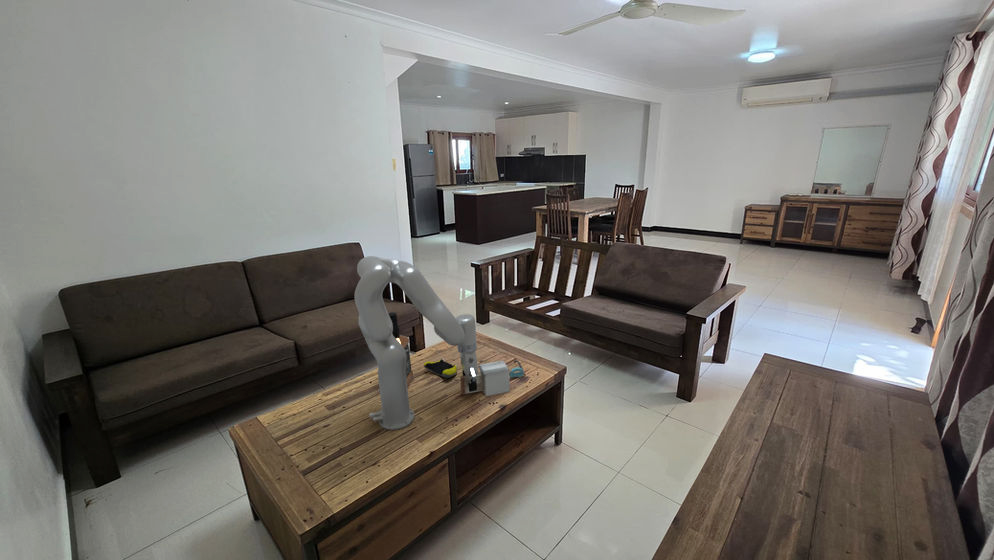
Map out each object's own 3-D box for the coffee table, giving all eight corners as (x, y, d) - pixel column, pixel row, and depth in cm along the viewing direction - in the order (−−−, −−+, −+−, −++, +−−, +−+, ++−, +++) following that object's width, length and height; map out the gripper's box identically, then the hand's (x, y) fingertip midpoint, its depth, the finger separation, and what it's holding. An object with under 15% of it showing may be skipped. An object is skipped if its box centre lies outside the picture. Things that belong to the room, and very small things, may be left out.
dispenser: (485, 396, 159) (484, 374, 156) (479, 386, 167) (478, 364, 164) (509, 391, 162) (509, 369, 159) (503, 381, 170) (502, 360, 167)
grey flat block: (462, 394, 159) (461, 378, 157) (461, 391, 161) (460, 376, 159) (503, 386, 164) (503, 371, 162) (502, 383, 166) (502, 368, 164)
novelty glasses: (492, 382, 170) (492, 371, 169) (488, 365, 184) (488, 355, 183) (524, 379, 172) (524, 368, 170) (518, 362, 186) (518, 352, 185)
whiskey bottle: (405, 391, 164) (398, 318, 155) (383, 389, 166) (374, 317, 157) (414, 377, 174) (408, 309, 165) (393, 376, 176) (385, 308, 166)
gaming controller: (446, 384, 169) (462, 374, 176) (445, 372, 167) (461, 363, 175) (422, 373, 178) (438, 364, 185) (421, 362, 176) (437, 353, 184)
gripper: (482, 353, 148) (484, 393, 154) (470, 335, 164) (473, 372, 169) (463, 357, 146) (466, 398, 151) (452, 338, 162) (455, 375, 167)
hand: (469, 384), depth 160 cm, fingers open, 9 cm apart
